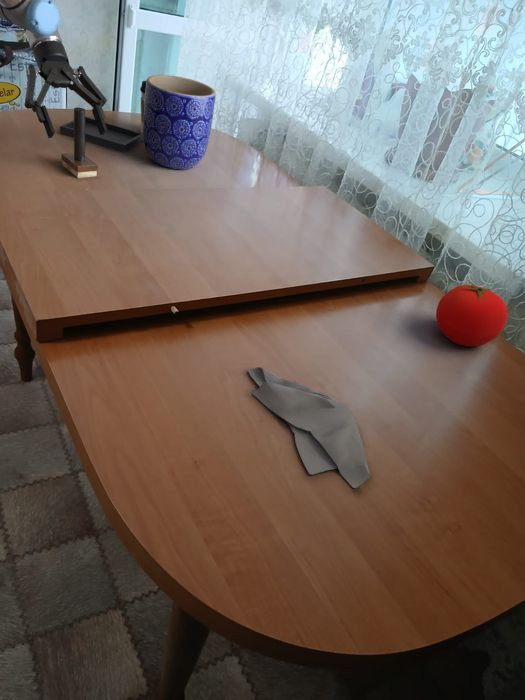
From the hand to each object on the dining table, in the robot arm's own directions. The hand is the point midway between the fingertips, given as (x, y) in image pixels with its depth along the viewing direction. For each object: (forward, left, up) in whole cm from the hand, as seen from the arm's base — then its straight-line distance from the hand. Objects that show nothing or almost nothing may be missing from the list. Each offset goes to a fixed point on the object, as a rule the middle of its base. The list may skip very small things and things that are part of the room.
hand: (78, 134), depth 132 cm
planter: (+16, +23, -9) cm, 30 cm away
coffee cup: (+2, +40, -9) cm, 42 cm away
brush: (0, -1, -9) cm, 9 cm away
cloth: (+72, -62, -9) cm, 96 cm away
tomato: (+97, -25, -9) cm, 101 cm away
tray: (-7, +26, -9) cm, 29 cm away
